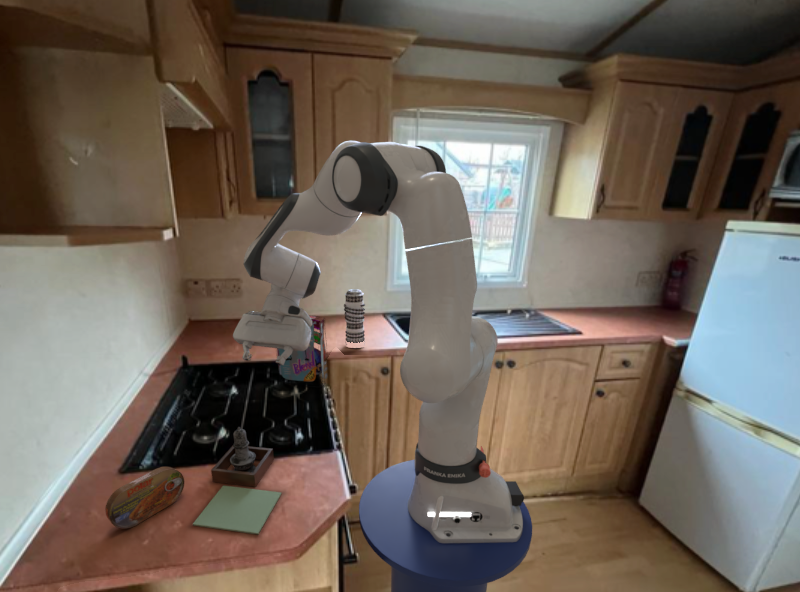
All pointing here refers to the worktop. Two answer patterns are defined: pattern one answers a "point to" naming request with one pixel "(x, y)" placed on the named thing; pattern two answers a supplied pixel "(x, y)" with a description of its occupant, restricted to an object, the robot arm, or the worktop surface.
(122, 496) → the tin
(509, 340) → the worktop surface
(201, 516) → the mat
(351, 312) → the decorative candle
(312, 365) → the box
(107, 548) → the worktop surface
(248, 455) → the grey chess piece
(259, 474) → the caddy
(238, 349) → the worktop surface
